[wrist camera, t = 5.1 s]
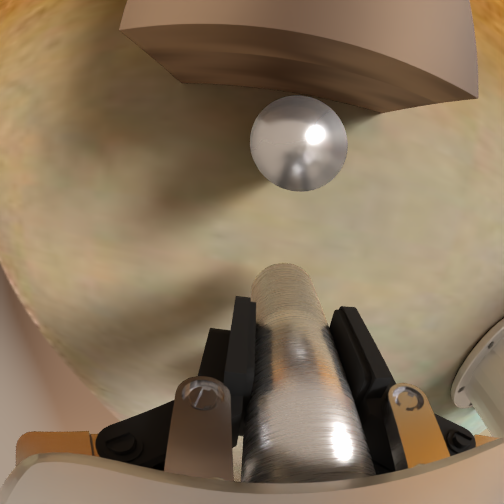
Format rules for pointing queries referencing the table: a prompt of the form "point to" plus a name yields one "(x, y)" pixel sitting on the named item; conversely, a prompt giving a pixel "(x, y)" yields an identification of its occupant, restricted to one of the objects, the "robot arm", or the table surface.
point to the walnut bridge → (316, 47)
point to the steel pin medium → (298, 143)
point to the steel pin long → (298, 390)
